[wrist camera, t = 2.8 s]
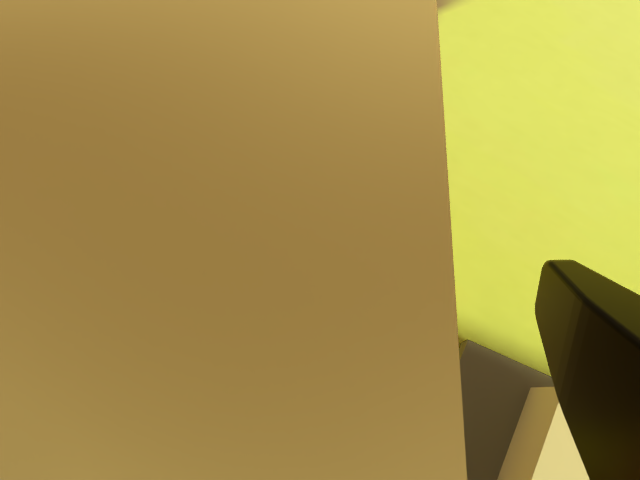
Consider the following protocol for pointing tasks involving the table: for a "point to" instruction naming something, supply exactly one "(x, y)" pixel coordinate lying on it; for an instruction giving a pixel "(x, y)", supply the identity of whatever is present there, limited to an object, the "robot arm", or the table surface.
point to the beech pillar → (226, 242)
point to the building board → (513, 421)
